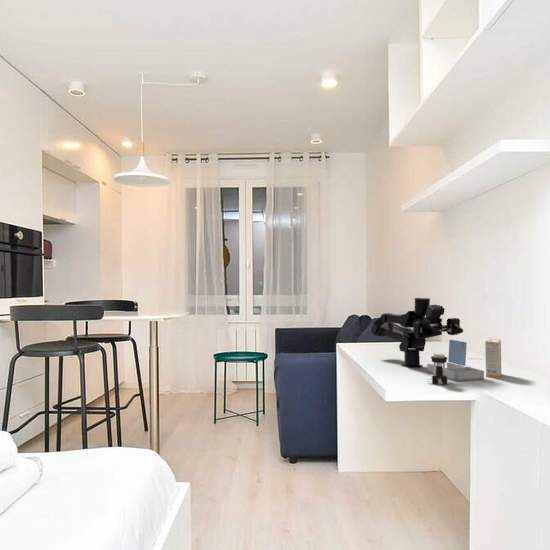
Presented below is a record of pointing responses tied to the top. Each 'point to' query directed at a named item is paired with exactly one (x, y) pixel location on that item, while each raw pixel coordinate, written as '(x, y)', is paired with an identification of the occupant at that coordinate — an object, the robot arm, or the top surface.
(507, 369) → the top surface
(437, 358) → the push button
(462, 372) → the grey tray
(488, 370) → the supplement box
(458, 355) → the panel
